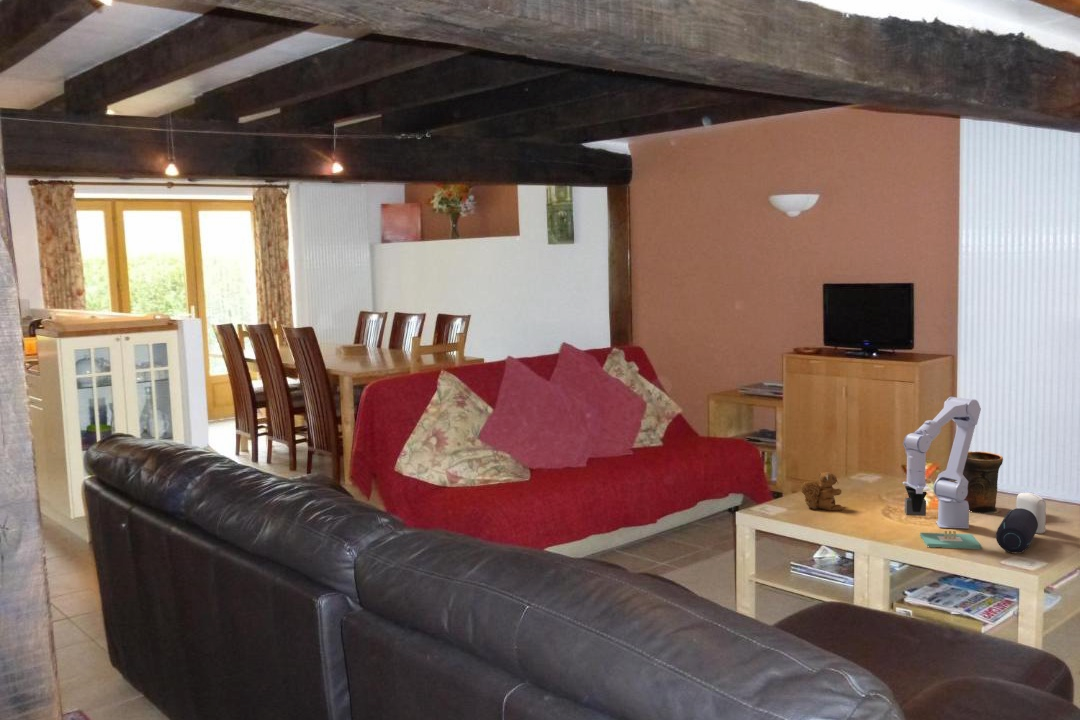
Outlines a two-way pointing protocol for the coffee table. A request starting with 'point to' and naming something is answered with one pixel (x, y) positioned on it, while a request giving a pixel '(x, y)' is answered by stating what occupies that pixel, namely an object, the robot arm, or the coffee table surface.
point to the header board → (950, 540)
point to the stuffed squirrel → (822, 492)
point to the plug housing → (910, 511)
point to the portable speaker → (1017, 530)
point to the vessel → (982, 481)
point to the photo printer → (1033, 508)
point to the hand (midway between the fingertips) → (915, 509)
